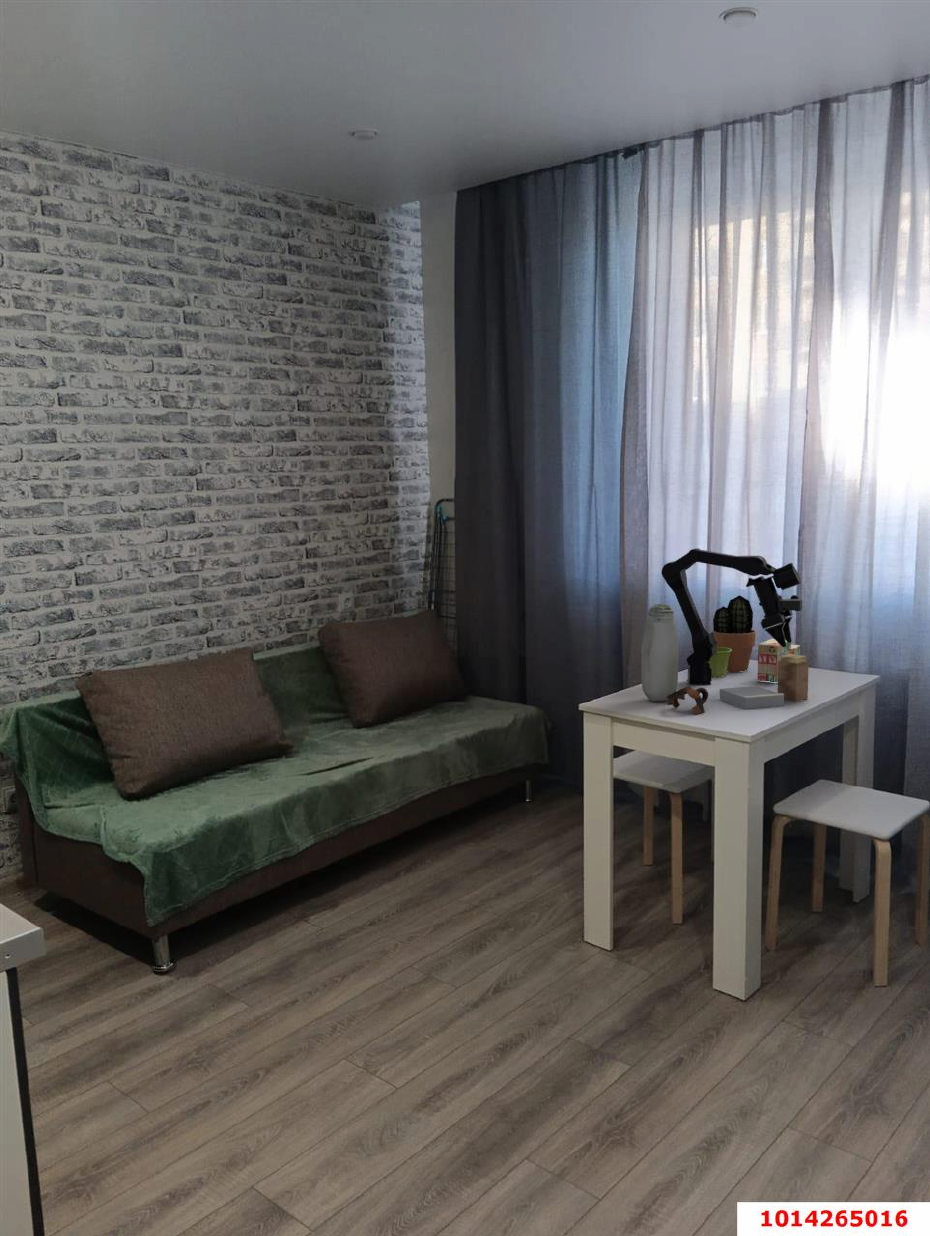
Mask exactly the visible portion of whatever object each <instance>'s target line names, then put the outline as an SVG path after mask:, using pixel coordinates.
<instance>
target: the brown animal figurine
mask: <svg viewBox="0 0 930 1236" xmlns="http://www.w3.org/2000/svg"><path fill="white" fill-rule="evenodd" d="M701 694H702V695H701ZM686 695H688V696H689V697H690V698H691V699H693V700H694V701H695V703H696V705H694V706H693V707H691V710H692V712H693V714H694V716H696V715H697V716H698V715H699V714H701V713H704V712H705V707H704V704H705V703H706V702H707V701H708V699H709V692H708V690H707V689H706V688H704V687H699V688H697V689H695V688H692V685H690V684H689V685H688V684H687V685H686V686H684V687H682V688H680V689H677V690H676V692H674V693H672V694H670V695H668V696H667V698H668V700H667V701H668V702H667V706H673V707H674V709H678V708H679V707H680V702H679V700H680V701H684V700H686V697H685V696H686Z"/></svg>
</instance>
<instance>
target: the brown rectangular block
mask: <svg viewBox="0 0 930 1236" xmlns="http://www.w3.org/2000/svg"><path fill="white" fill-rule="evenodd" d="M809 662H810V661H808V660H807V656H806V655H801V654H800V655H794V654H789V655H784V656H781V661H778V683H777V693H779V694H780V693H782V694H784V701H787V702H792V701H793V703H798V702H802V701H805V700H804V699H806V700H808V699H809V698H808V697H809V695H808V694H809V666H810V665H809ZM807 698H808V699H807ZM801 700H802V701H801Z"/></svg>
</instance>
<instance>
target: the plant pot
mask: <svg viewBox="0 0 930 1236" xmlns="http://www.w3.org/2000/svg"><path fill="white" fill-rule="evenodd" d="M731 651H732V649H730V648H725V647H717V652H716V654H715V655H714V656H713V657H711V659H710V661H709V662H708V663H709V664H710V668H711V669H712V677H714V678H722V677H721V676H724V677H725V675H726V676H727V673H728V672H727V666H728V660H729V656H730V652H731Z"/></svg>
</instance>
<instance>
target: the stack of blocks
mask: <svg viewBox="0 0 930 1236" xmlns="http://www.w3.org/2000/svg"><path fill="white" fill-rule="evenodd" d="M785 641H786V640H785ZM757 646H758V647H757V648H758V649H757V652H758V653H757V681H758V680H759V681H770V682H778V661H781V656H784V655H789V654H794V655H801V645H800V644H792V641H791V642H790V643H788V642H787V641H786V647H782V646H781V645H780V644H779V643H778V642H777V641H776V640H775V639H774V638H771V639H768V640H766V641H763V642H760V643H758V645H757Z"/></svg>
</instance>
